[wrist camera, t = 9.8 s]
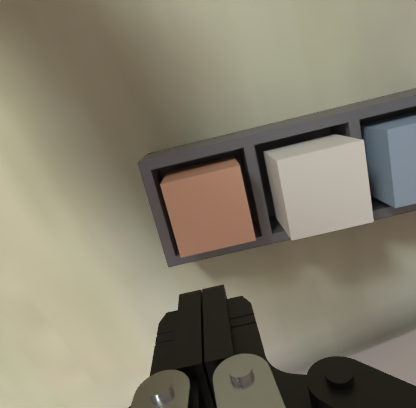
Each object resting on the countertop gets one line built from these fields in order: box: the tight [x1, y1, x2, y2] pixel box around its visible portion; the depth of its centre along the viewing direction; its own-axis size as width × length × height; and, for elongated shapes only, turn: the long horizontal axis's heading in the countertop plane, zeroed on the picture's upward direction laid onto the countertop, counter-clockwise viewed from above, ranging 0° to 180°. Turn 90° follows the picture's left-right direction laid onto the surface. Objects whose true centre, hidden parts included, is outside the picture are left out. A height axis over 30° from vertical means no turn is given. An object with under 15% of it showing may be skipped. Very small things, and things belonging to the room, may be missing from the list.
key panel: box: [138, 88, 416, 267], centre depth 26 cm, size 22×8×4 cm, turn 104°
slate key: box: [360, 112, 416, 208], centre depth 24 cm, size 5×5×4 cm
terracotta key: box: [160, 156, 256, 258], centre depth 24 cm, size 5×5×4 cm
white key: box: [263, 134, 374, 241], centre depth 23 cm, size 5×5×4 cm
